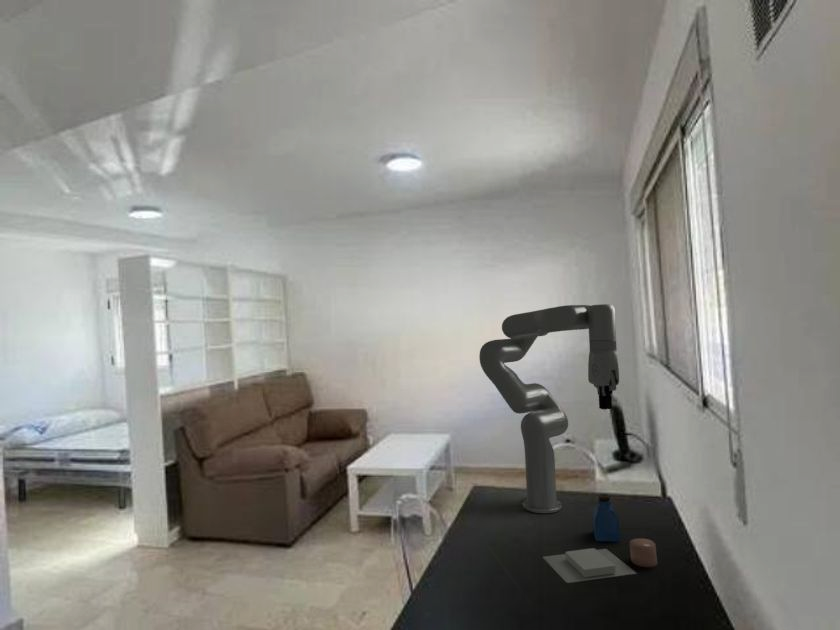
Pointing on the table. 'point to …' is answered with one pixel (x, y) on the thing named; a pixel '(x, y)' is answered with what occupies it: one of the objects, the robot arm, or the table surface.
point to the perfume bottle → (605, 520)
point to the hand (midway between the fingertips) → (605, 408)
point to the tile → (590, 562)
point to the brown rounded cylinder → (643, 552)
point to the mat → (573, 575)
